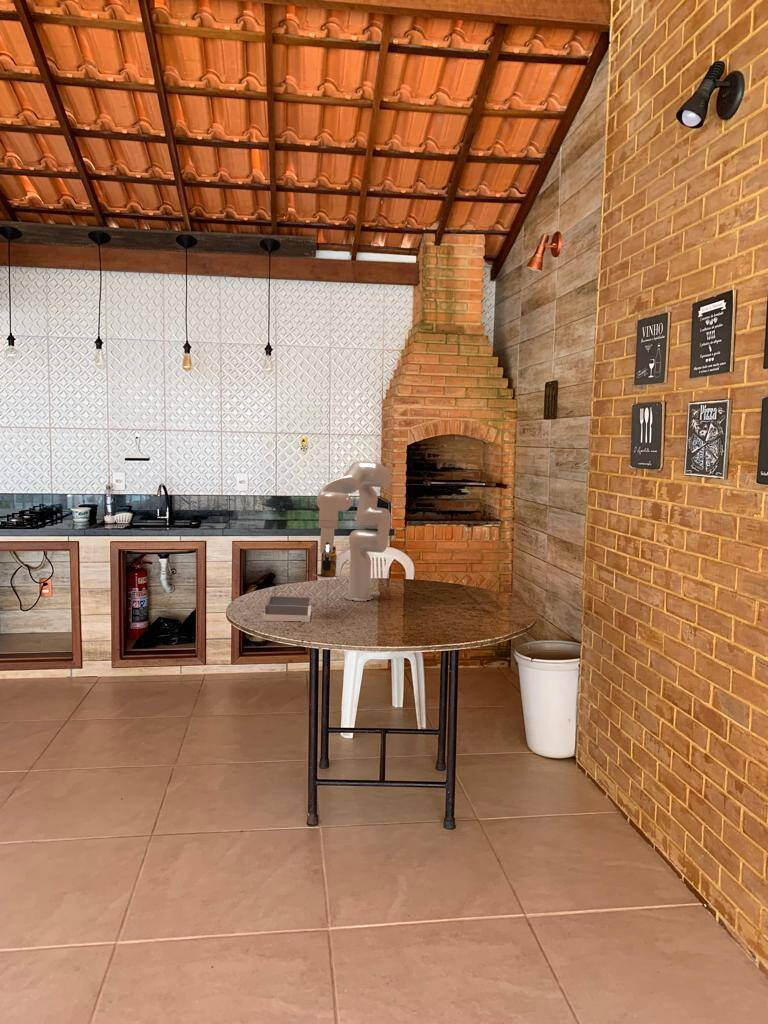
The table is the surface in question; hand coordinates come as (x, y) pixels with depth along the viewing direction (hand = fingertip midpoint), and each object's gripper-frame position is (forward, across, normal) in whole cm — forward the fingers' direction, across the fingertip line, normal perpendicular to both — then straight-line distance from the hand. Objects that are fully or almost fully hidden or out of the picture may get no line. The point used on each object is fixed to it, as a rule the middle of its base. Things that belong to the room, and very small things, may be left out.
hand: (326, 568), depth 280 cm
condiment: (+3, 0, 0) cm, 3 cm away
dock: (+20, +1, -14) cm, 24 cm away
